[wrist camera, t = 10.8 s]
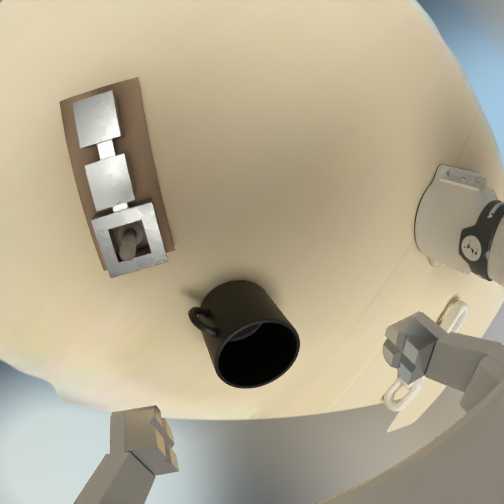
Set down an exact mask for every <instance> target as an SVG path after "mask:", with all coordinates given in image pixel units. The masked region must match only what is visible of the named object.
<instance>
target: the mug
mask: <svg viewBox="0 0 504 504" xmlns="http://www.w3.org/2000/svg"><path fill="white" fill-rule="evenodd" d="M188 315H189V318H190V320H191V322H192V323H193V324H194V325H195V326H196V327H197V328H198V329H199V330H201V331H202V334H203V337H204V340H205V343H206V345H207V348H208V351H209V354H210V357H211V360H212V362H213V365H214V368H215V371H216V373H217V375H218V376H219V378H220V379H221V380H222V381H223V382H225V383H226V384H228V385H230V386H233V387H236V388H255V387H260V386H263V385H266V384H268V383H270V382H272V381H274V380H276V379H278V378H279V377H280V376H282V375H283V374H284V373H285V372H286V371H287V370H288V369H289V368H290V367H291V366H292V364H293V363H294V361H295V360H296V358H297V356H298V352H299V348H300V340H299V336H298V333H297V331H296V330H295V328H294V327H293V326H292V325H291V323H290V322H289V321H288V320H287V318H286V317H285V316H284V315H283V313H282V312H281V311H280V310H279V308H278V307H277V306H276V304H275V303H274V302H273V301H272V299H271V298H270V297H269V296H268V294H267V293H266V292H265V291H264V289H262V288H261V287H260V286H258V285H257V284H254V283H252V282H247V281H232V282H228V283H225V284H223V285H221V286H219V287H217V288H216V289H214V290H213V291H212V292H211V293H210V294H209V295H208V296H207V297H206V298H205V300H204V301H203V303H202V305H201V308H200V307H193V308H192V309H191V310H190V311H189V313H188ZM197 315H199V318H198V317H197Z"/></svg>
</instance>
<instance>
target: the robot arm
mask: <svg viewBox="0 0 504 504" xmlns="http://www.w3.org/2000/svg"><path fill="white" fill-rule="evenodd" d="M485 186H486V179H485V178H481V177H480V175H479V174H478V173H476V172H472V171H468V170H464V169H459V168H455V167H450V166H445V165H440V166H439V167H438V169H437V172H436V175H435V178H434V180H433V182H432V184H431V185H430V186H429V188H428V189H427V191H426V192H425V194H424V196H423V198H422V200H421V203H420V206H419V209H418V213H417V217H416V224H415V237H416V243H417V246H418V248H419V250H420V252H421V253H422V254H423V255H425V256H427V257H428V258H429V260H430V263H431V264H432V266H435V267H439V266H440V265H441V264H442V265H444V266H447V267H449V268H452V269H454V270H456V271H459V272H461V273H463V274H468V273H470V272H471V271H472V272H473V273H474V274H476V275H478V276H479V277H480V278H483V279H486V280H488V281H492V280H493V281H495V282H497V283H499V284H500V285H502V286H504V202H501V201H499V200H498V198H497V196H496V193H495V191H494V190H493V189H491V188H488V187H485ZM385 336H386V337H387V340H386V341H385V343H384V344H383V355H384V358H385V360H386V362H387V363H388V364H389V365H390V366H391V367H394V368H397V371H398V375H399V376H400V377H401V378H402V379H403V381H404V382H405V383H406V384H407V385H409V384H411V383H413V382H414V381H416V380H418V379H419V378H421V377H423V376H424V375H425V377H427V378H430V379H432V380H435V381H437V382H440V383H442V384H445V385H447V386H450V387H452V388H455V389H458V390H460V391H463V392H464V394H463V396H462V398H461V400H460V405H461V406H462V408H463V409H465V411H466V412H467V413H466V414H465V415H464V416H463V417H462V418H460V419H459V420H458V421H457V422H455V423H454V424H453V425H452V426H450V427H449V428H448V429H447V430H445V431H444V432H443V433H441V434H440V435H439V436H437V437H436V438H435V439H433V440H432V441H430V442H429V443H428V444H426V445H425V446H423V447H422V448H420V449H419V450H417V451H416V452H415V453H413V454H411V455H410V456H408V457H407V458H405V459H404V460H402V461H400V462H399V463H397V464H395V465H394V466H392V467H390V468H389V469H387V470H385V471H384V472H382V473H380V474H378V475H376V476H375V477H373V478H371V479H369V480H367V481H365V482H363V483H361V484H359V485H357V486H355V487H353V488H351V489H349V490H347V491H345V492H343V493H340V494H338V495H336V496H334V497H331V498H329V499H327V500H324V501H322V502H320V503H317V504H504V346H503V345H502V344H501V343H499V342H495V341H490V340H485V339H481V338H476V337H472V336H467V335H463V334H458V333H454V332H449V333H447V332H446V331H445V330H444V329H442V328H441V327H440V326H439V325H437V324H436V323H435V322H434V321H433V320H431V319H430V318H429V317H428V316H426V315H425V314H424V313H422V312H417V313H415V314H413V315H411V316H409V317H406V318H404V319H403V320H401V321H399V322H397V323H395V324H393V325H391V326H389V327H388V328H387V329H386V332H385ZM110 421H111V422H110V454H106V455H105V457H104V458H103V460H102V461H101V463H100V464H99V466H98V467H97V469H96V470H95V472H94V473H93V475H92V476H91V478H90V479H89V481H88V482H87V484H86V485H85V487H84V488H83V490H82V492H81V493H80V494H79V496H78V497H77V499H76V500H75V502H74V504H144V503H145V500H146V498H147V496H148V493H149V491H150V489H151V486H152V484H153V481H154V479H155V475H161V474H166V473H172V472H177V471H179V469H178V463H177V457H176V454H175V453H174V451H173V450H172V449H171V448H172V447H173V445H174V440H173V435H172V432H171V429H170V426H169V424H168V422H167V421H166V419H164V418H162V417H161V412H160V410H159V409H158V407H157V406H149V407H143V408H137V409H130V410H124V411H117V412H112V415H111V419H110Z"/></svg>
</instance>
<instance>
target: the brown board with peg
mask: <svg viewBox="0 0 504 504" xmlns="http://www.w3.org/2000/svg"><path fill="white" fill-rule="evenodd" d="M111 90H113V92H114V93H115V94H116V96H117V97H118V102H119V108H120V114H121V119H122V125H123V130H124V135H125V137H122V138H118V139H115V140H114V142H115V147H116V151H117V155H118V154H121V153H125V152H128V154H129V159H130V163H131V168H132V172H133V176H134V181H135V185H136V189H137V194H136V198H135V200H133V201H130V202H129V204H130V203H133V202H137V201H140V200H144V199H147V198H151V197H152V201H153V205H154V209H155V213H156V217H157V221H158V224H159V228H160V232H161V236H162V239H163V243H164V246H165V250H166V252H170V251H173V250H175V248H174V245H173V241H172V237H171V233H170V230H169V226H168V222H167V218H166V214H165V210H164V206H163V202H162V198H161V193H160V189H159V185H158V180H157V176H156V172H155V167H154V162H153V158H152V153H151V148H150V143H149V138H148V133H147V128H146V123H145V117H144V112H143V106H142V100H141V95H140V88H139V82H138V78H134V79H130V80H126V81H122V82H118V83H115V84H111V85H108V86H105V87H101V88H98V89H95V90H92V91H89V92H86V93H83V94H80V95H77V96H74V97H71V98H69V99H66V100H63V101H60V107H61V114H62V120H63V125H64V131H65V136H66V141H67V146H68V151H69V155H70V160H71V164H72V168H73V173H74V177H75V181H76V184H77V188H78V192H79V196H80V199H81V203H82V206H83V210H84V213H85V216H86V220H87V223H88V226H89V229H90V232H91V235H92V238H93V241H94V244H95V247H96V250H97V253H98V256H99V259H100V261H101V264H102V267H103V269H104V271H105V270H108V269H107V267H106V264H105V261H104V258H103V255H102V253H101V250H100V247H99V244H98V241H97V238H96V235H95V232H94V229H93V225H92V222H91V220H92V218H93V217H94V215H95V214H97V213H100V212H104V211H107V210H110V209H113V207H110V208H106V209H103V210H100V211H96V208H95V204H94V201H93V197H92V194H91V190H90V186H89V182H88V178H87V174H86V170H85V165H88V164H90V163H92V162H95V161H98V160H100V155H99V151H98V146H97V145H96V146H93V147H88V148H80V143H79V138H78V133H77V128H76V122H75V116H74V110H73V104H72V103H74V102H77V101H80V100H83V99H85V98H89V97H92V96H95V95H98V94H101V93H104V92H108V91H111ZM112 229H113V233H114V236H115V239H116V242H117V245H118V248H119V251H120V252H119V255H120V257H121V259H122V260H124V261H131V260H133V259H134V257H135V254H136V249H138V248H141V247H145V246H148V245H149V243H148V239H147V236H146V232H145V229H144V225H143V222H142V220H138V221H135V222H131V223H128V224H125V225H121V226H118V227H115V228H112Z"/></svg>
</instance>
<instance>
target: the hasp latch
mask: <svg viewBox="0 0 504 504" xmlns="http://www.w3.org/2000/svg"><path fill="white" fill-rule="evenodd" d="M72 104H73V110H74V116H75V122H76V128H77V133H78V138H79V143H80V148H88V147H93V146H96V145H97V146H98V151H99V155H100V160H98V161H95V162H92V163H90V164H88V165H85V170H86V174H87V178H88V182H89V186H90V190H91V194H92V197H93V201H94V204H95V208H96V211H100V210H103V209H106V208H110V207H113V209H110V210H107V211H104V212H100V213H97V214H95V215H94V217H93V218H92V220H91V222H92V225H93V229H94V232H95V235H96V238H97V241H98V244H99V247H100V250H101V253H102V255H103V258H104V261H105V264H106V267H107V269H108V272H109V275H110V277H111V278H113V277H116V276H120V275H123V274H127V273H130V272H133V271H137V270H140V269H144V268H147V267H151V266H154V265H158V264H161V263H165V262H168V259H167V254H166V250H165V246H164V243H163V239H162V236H161V232H160V228H159V224H158V221H157V217H156V213H155V209H154V205H153V201H152V197H151V198H147V199H144V200H140V201H137V202H133V203H130V204H129V202H130V201H133V200H135V198H136V194H137V189H136V185H135V181H134V176H133V172H132V168H131V163H130V159H129V154H128V152H125V153H121V154H118V155H117V151H116V147H115V142H114V140H115V139H118V138H122V137H125V135H124V130H123V125H122V119H121V114H120V108H119V102H118V97H117V96H116V94H115V93H114V92H113V90H111V91H108V92H104V93H101V94H98V95H95V96H92V97H89V98H85V99H83V100H80V101H77V102H74V103H72ZM138 220H142V222H143V225H144V229H145V232H146V236H147V239H148V243H149V245H148V246H145V247H141V248H138V249H136V254H135V257H134V259H133V260H131V261H124V260H122V259H121V257H120V255H119V252H120V251H119V248H118V245H117V242H116V239H115V236H114V233H113V229H112V228H115V227H118V226H121V225H125V224H128V223H131V222H135V221H138Z"/></svg>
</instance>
